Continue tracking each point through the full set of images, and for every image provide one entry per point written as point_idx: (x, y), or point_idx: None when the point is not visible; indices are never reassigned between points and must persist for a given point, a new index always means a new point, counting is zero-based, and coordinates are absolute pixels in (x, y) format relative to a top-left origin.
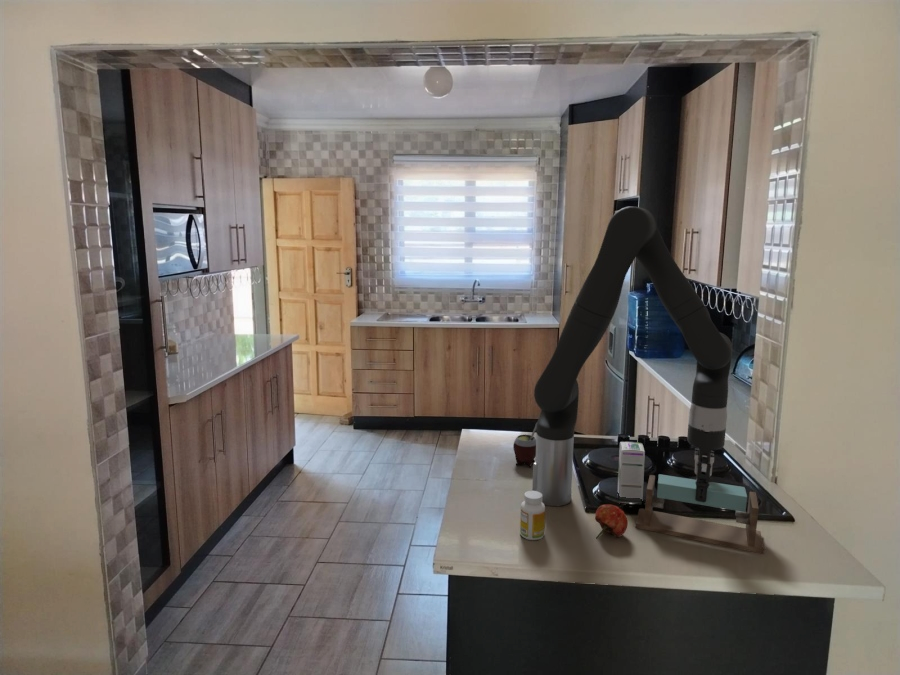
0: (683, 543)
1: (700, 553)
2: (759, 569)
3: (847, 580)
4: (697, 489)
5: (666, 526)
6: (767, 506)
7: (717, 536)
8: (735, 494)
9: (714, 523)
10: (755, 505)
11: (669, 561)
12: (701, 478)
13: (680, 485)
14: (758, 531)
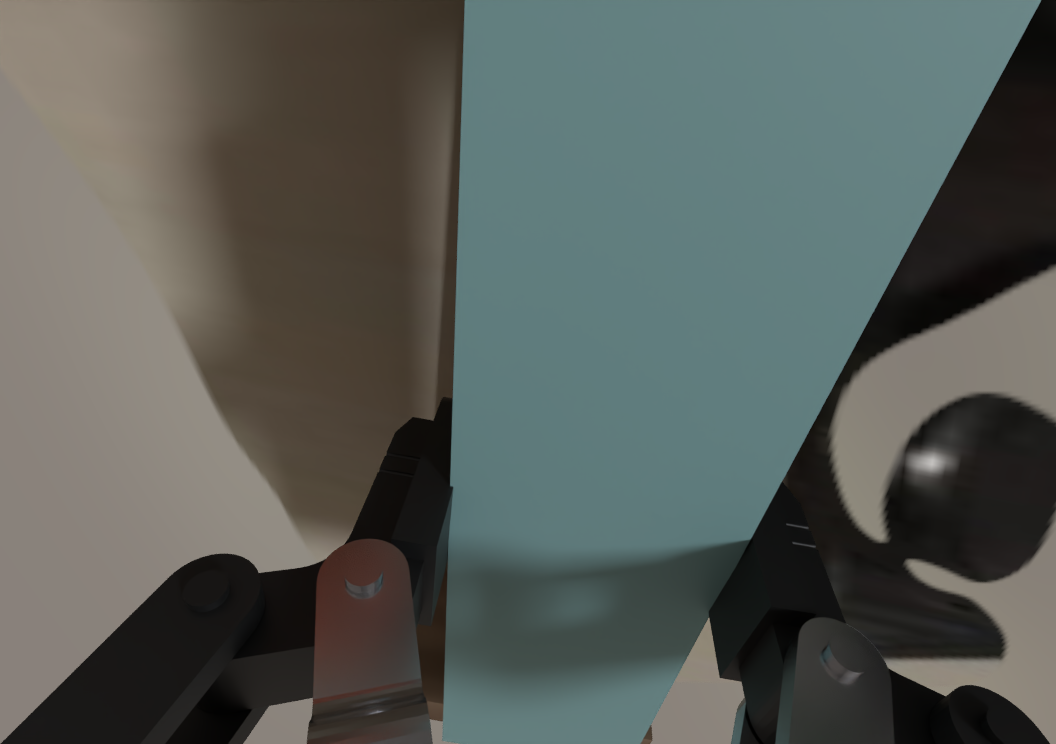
0: (401, 155)
1: (324, 244)
2: (312, 460)
3: None
4: (409, 500)
5: None
6: (914, 620)
7: None
8: (458, 705)
9: None
10: (429, 711)
11: (108, 17)
12: (736, 602)
13: (500, 324)
14: None
